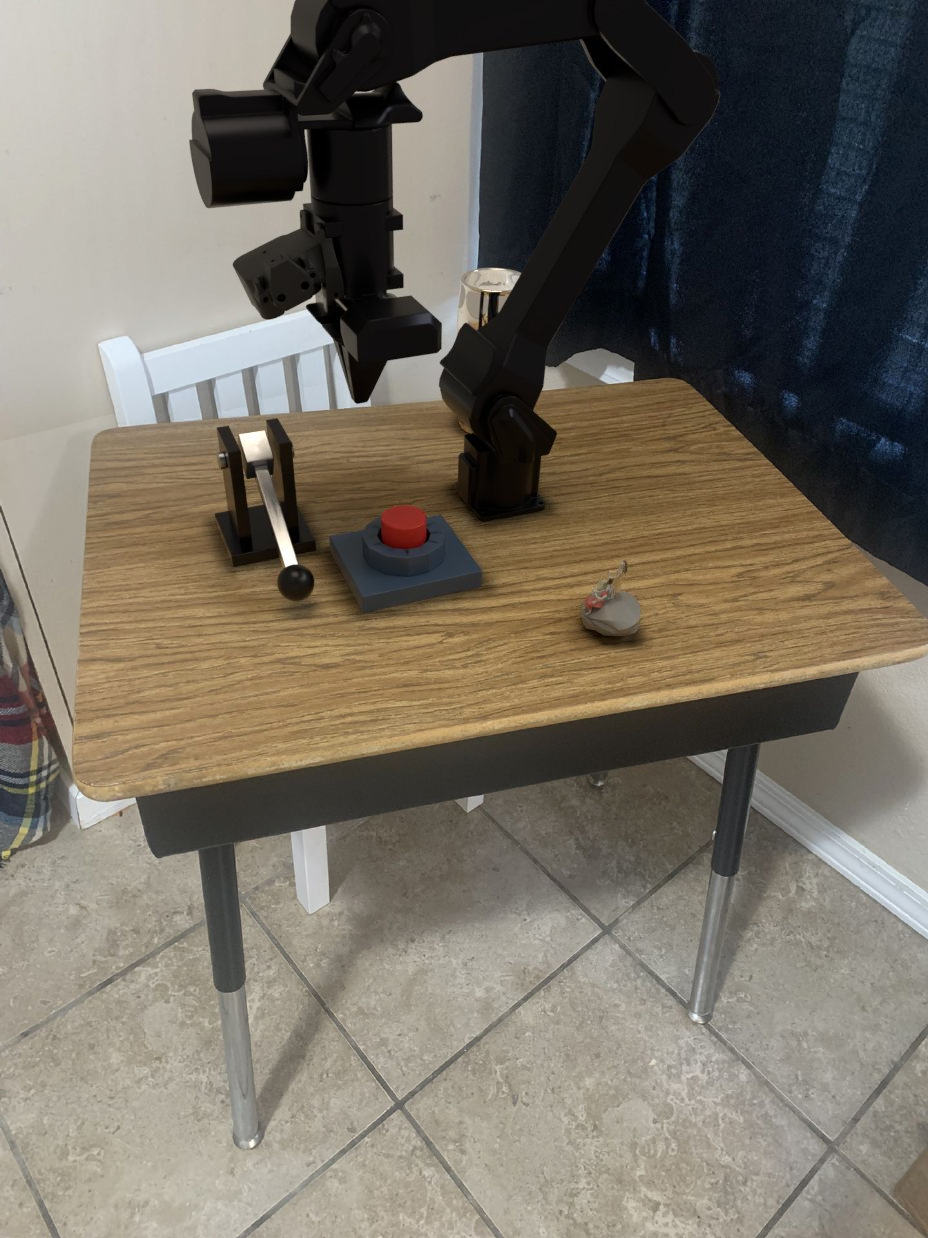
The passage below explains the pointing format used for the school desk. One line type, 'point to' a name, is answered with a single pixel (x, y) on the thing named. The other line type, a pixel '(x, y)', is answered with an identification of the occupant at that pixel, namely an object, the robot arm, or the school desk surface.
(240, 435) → the lever handle
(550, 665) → the school desk surface
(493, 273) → the silver metal tumbler
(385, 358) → the robot arm
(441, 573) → the button block
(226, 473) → the lever bracket
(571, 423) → the school desk surface
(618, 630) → the figurine
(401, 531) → the red button
